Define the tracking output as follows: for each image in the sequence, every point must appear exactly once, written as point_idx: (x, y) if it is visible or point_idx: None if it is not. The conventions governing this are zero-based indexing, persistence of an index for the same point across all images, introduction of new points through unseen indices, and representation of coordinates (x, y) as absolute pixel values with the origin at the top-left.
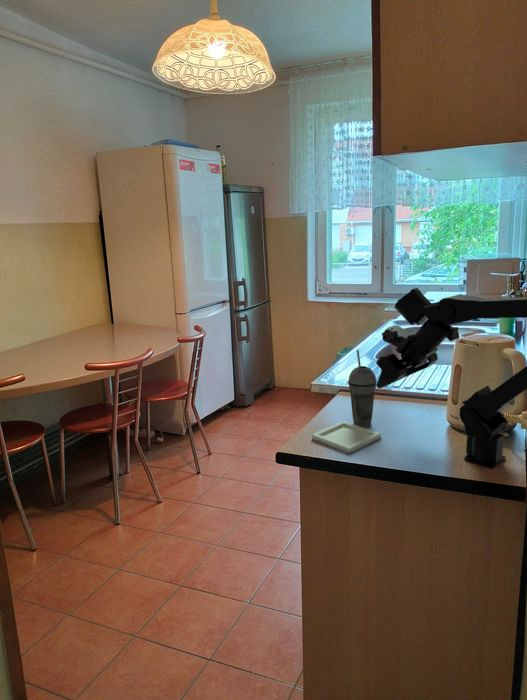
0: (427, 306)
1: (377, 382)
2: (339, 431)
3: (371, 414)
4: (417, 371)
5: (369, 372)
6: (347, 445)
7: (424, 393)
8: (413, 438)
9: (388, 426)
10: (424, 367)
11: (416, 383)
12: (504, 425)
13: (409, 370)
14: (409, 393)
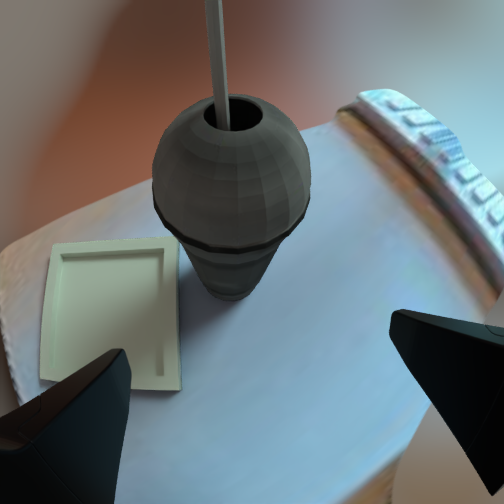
0: None
1: (90, 363)
2: (124, 271)
3: (241, 290)
4: (467, 453)
5: (229, 178)
6: (48, 363)
7: (490, 244)
8: (261, 458)
9: (279, 344)
10: (501, 488)
11: (496, 199)
12: None
13: (456, 396)
14: (468, 220)
